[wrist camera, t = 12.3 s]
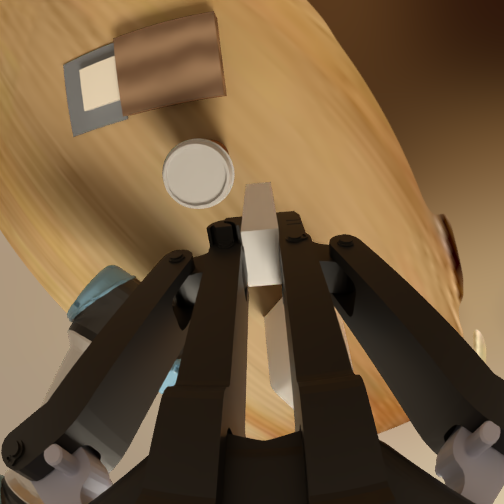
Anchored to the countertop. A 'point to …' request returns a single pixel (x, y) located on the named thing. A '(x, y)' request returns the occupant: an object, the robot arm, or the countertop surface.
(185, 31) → the walnut board
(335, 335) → the robot arm
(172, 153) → the disposable coffee cup
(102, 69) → the coaster
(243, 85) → the countertop surface
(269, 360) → the milk
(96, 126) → the rubber mat
